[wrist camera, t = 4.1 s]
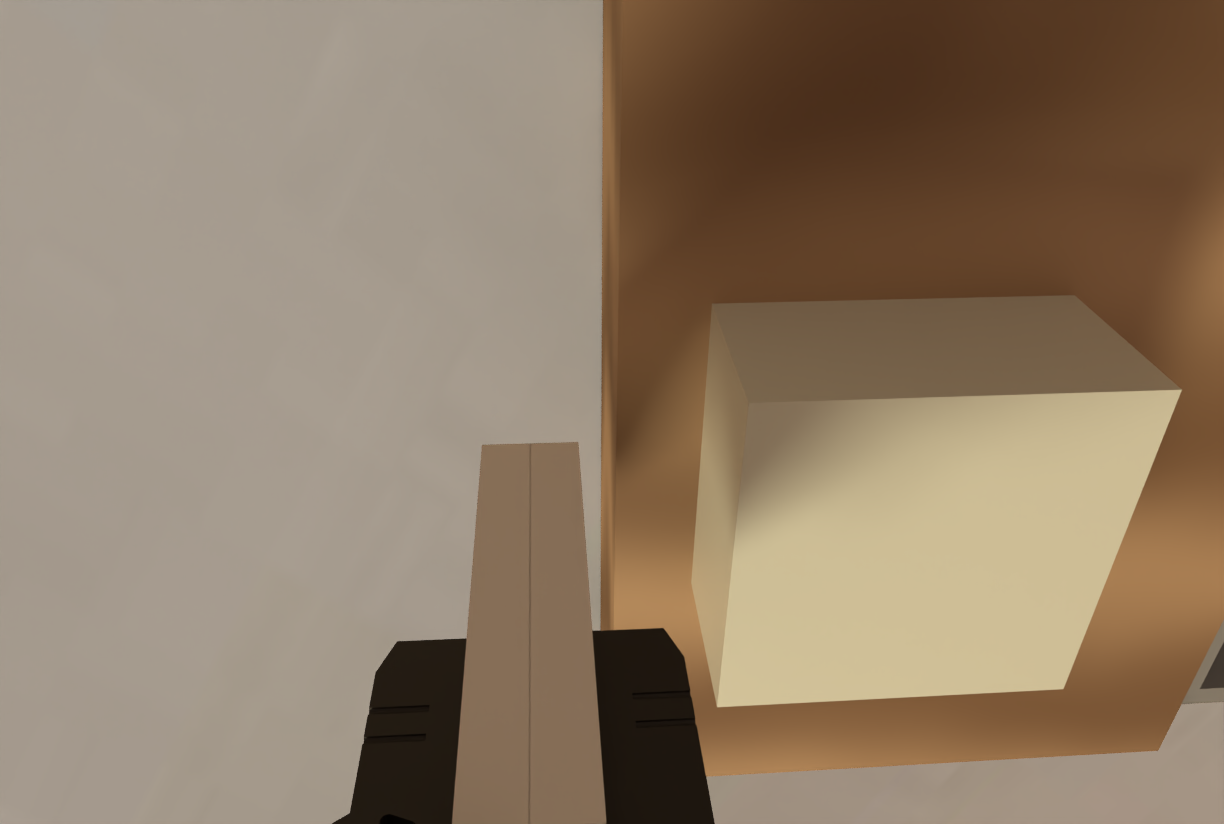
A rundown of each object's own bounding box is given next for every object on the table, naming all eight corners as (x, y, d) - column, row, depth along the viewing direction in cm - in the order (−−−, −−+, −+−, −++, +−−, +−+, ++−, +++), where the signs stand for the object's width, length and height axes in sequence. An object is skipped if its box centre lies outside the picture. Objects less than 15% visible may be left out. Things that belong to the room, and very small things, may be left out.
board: (603, -144, 15) (624, -132, 12) (1369, -137, 16) (1598, -125, 12) (600, 649, 25) (611, 781, 21) (1075, 627, 25) (1157, 750, 22)
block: (712, 303, 15) (749, 402, 12) (1074, 294, 15) (1182, 390, 13) (691, 583, 18) (717, 707, 16) (990, 570, 18) (1063, 689, 16)
